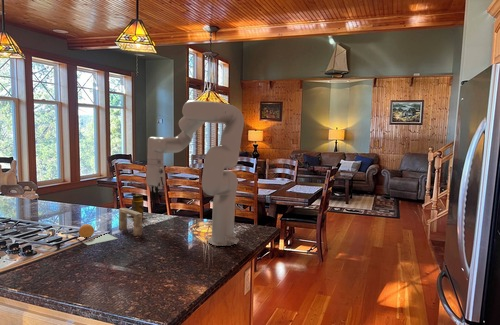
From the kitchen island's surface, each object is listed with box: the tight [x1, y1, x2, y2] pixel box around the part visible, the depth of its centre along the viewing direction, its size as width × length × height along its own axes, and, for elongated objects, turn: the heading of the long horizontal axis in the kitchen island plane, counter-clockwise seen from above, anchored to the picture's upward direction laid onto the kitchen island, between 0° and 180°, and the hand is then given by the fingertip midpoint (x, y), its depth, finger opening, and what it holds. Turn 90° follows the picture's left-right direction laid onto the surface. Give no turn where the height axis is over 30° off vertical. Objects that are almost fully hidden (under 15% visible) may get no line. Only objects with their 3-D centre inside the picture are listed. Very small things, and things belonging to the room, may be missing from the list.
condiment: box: [127, 194, 146, 220], centre depth 191 cm, size 7×8×12 cm
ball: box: [78, 223, 95, 238], centre depth 153 cm, size 6×6×6 cm
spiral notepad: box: [83, 233, 119, 246], centre depth 153 cm, size 13×13×1 cm
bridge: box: [118, 207, 143, 237], centre depth 165 cm, size 3×15×10 cm, turn 48°
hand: (154, 199), depth 174 cm, fingers closed
